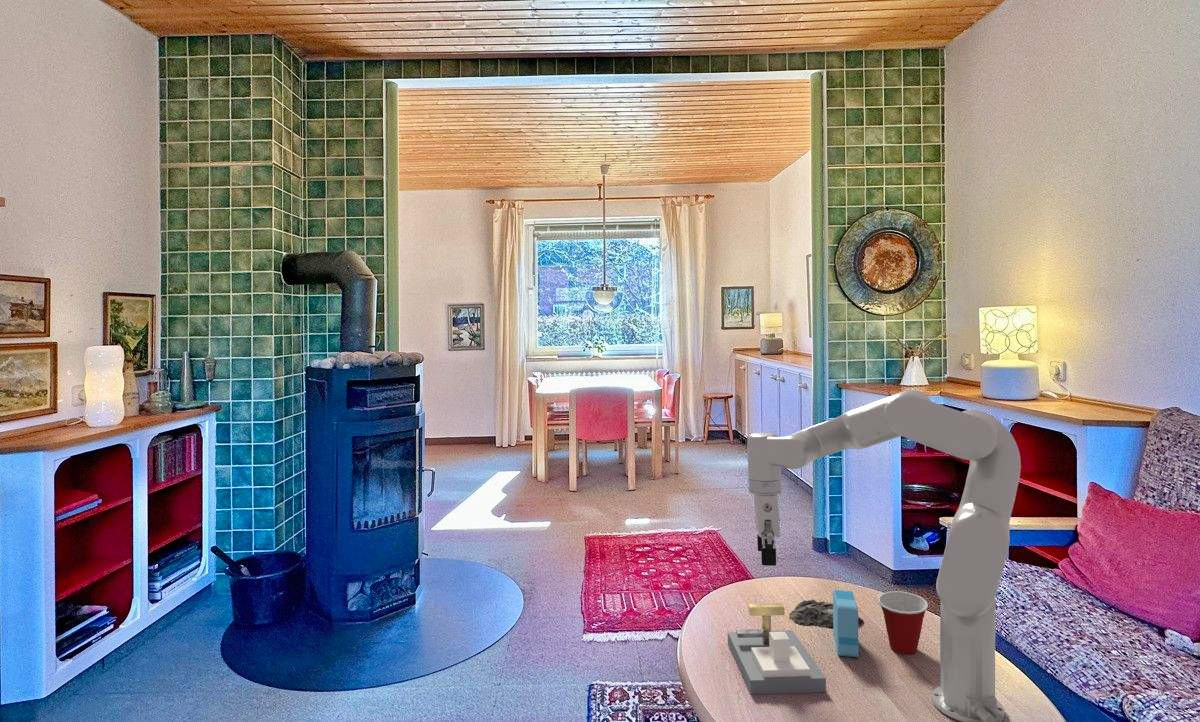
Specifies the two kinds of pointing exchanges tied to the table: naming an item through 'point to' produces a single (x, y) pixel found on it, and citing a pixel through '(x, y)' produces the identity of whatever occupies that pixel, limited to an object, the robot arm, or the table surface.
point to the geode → (814, 614)
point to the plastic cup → (903, 619)
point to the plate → (774, 684)
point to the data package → (845, 623)
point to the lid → (779, 658)
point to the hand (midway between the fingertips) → (766, 557)
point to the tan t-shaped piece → (766, 613)
